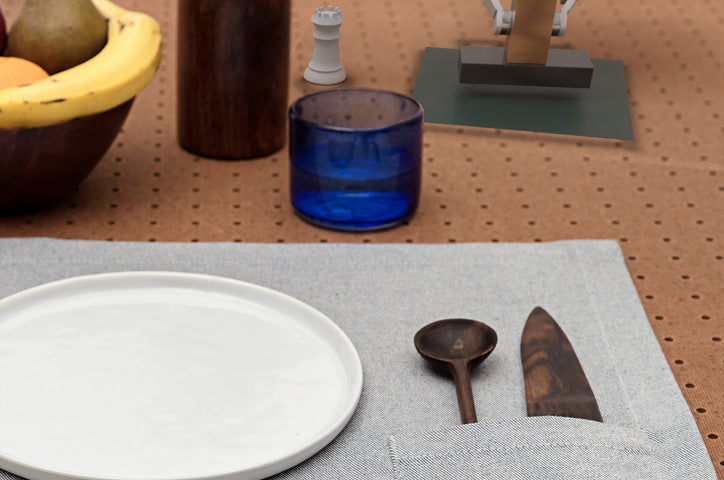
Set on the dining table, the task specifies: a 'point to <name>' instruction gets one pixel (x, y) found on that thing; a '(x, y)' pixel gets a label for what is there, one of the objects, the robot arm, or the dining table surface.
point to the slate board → (525, 101)
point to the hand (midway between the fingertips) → (529, 33)
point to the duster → (526, 54)
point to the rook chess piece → (326, 48)
